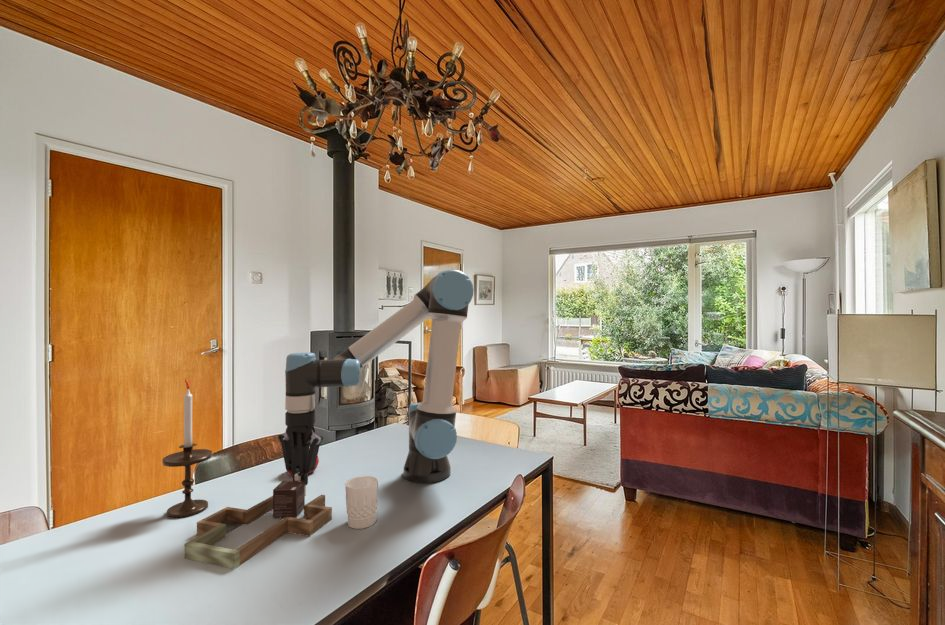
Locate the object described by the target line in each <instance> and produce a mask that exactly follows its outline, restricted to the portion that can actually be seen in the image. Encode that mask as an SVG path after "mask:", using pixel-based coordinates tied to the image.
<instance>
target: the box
mask: <svg viewBox="0 0 945 625" xmlns="http://www.w3.org/2000/svg"><path fill="white" fill-rule="evenodd" d="M272 491H273V492H272V496H273V510H272V518H273V519H275V520H276V519H284V518H286V517H293V518H298V516H299V515H300V514H301V512H302V511H304V505H306V504H305V501H306V500H305V498H306V496H305V481H304V480H302V481H293V480H281V482H280V483H279V484H278V485H276V487H274V489H272Z"/></svg>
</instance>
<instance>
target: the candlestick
mask: <svg viewBox="0 0 945 625" xmlns="http://www.w3.org/2000/svg"><path fill="white" fill-rule="evenodd" d="M184 382H185V385H186V386H185V387H186V391H185V392H186V393H185V394H183V444H182V445H179V446H178V448H179V449H183V450H182V451H177V452H174V453H171V454H168V455H166V456H165V457H163V458H162V465H163V466H165V467H170V468H171V467H173V468H175V467H184V479H183V480H182V481H181V485H182V486H183V488H184V490H182V492H181V493H182V494H183V495H184V500H183V501H181V502H179V503H175V504H174V505H172V506H170V507H169V508H168V509H167V510H166V517H167V518H169V519H184V518H185V519H186V518H190V517H192V516H196V515H199V514H201V513H203V512H204V511H206V510H207V509H208V508H209V502H208V501H207V500H205V499H192V493H193V492H194V488H192V485H194V483H195V479H194V478H192V466H193V465H196V464H200V463H203V462H205V461H208V460H210V459H211V458H212V457H213V451H212V450H211V449H205V448H203V449H202V448H200V449H199V448H198V449H196V448H195V449H194V448H193V447H196V446H197V445H198V443H193V394H192V393H191V391H190V387H191V386H190V382H189V381H188V379H187V378H185V380H184Z"/></svg>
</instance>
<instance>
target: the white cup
mask: <svg viewBox="0 0 945 625" xmlns="http://www.w3.org/2000/svg"><path fill="white" fill-rule="evenodd" d="M344 485H345V486H344V488H345V503H346V504H345V506H346V515H347V526H349V527H350V528H352V529H355V530H357V529H358V530H359V529H361V530H362V529H367V528H369V527H372V526H373V525H374V524H375V523H376V521H377V509H378V494H379V492H378V491H379V479H378V478H377V477H375V476H372V475H362V476H361V475H360V476H355V477H352V478H350V479H348V480H346V481H345V483H344Z"/></svg>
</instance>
